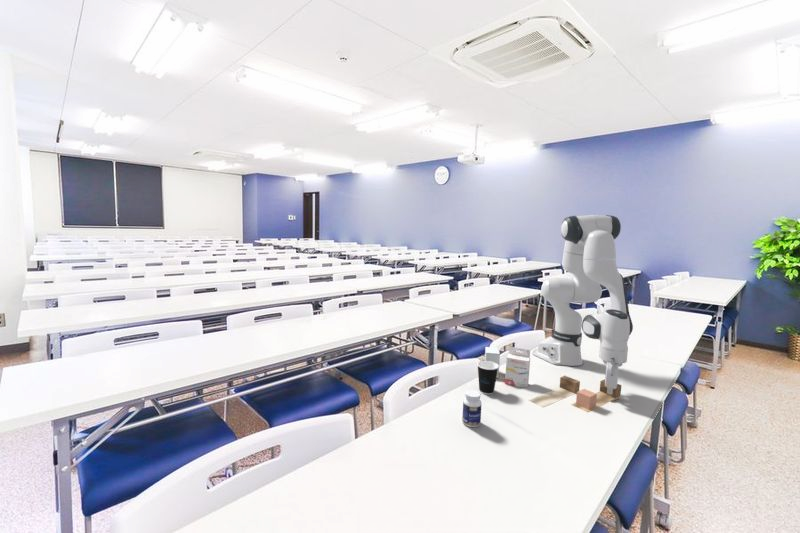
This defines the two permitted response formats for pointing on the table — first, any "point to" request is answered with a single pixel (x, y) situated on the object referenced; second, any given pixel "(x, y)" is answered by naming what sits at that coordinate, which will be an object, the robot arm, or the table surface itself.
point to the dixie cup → (487, 376)
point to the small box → (492, 356)
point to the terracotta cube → (586, 399)
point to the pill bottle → (472, 409)
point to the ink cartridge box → (517, 367)
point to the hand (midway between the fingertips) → (609, 390)
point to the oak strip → (603, 396)
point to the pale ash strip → (558, 392)
